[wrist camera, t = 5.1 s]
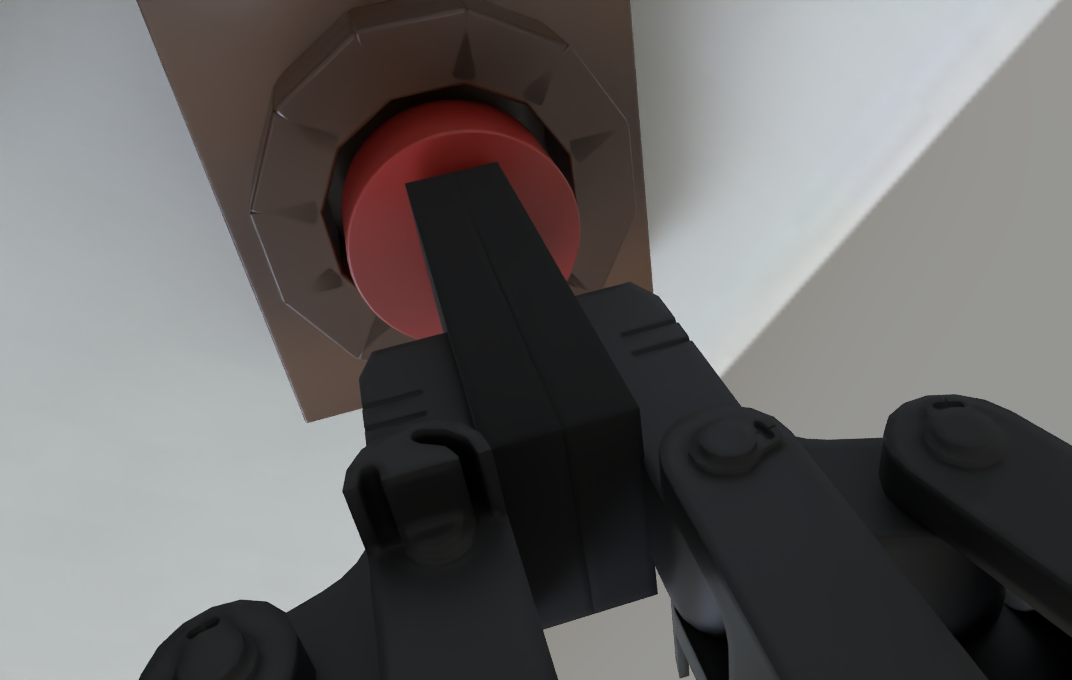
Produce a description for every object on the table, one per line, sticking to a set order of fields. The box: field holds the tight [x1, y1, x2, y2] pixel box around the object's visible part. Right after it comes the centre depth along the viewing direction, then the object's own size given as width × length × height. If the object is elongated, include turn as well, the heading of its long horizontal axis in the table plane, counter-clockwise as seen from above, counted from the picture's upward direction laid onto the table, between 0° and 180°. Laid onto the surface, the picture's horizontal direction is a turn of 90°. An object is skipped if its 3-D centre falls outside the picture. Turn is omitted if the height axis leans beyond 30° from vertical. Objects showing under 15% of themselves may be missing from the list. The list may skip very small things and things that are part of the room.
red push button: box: [342, 99, 580, 340], centre depth 15 cm, size 4×4×2 cm
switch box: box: [136, 0, 653, 423], centre depth 17 cm, size 10×8×4 cm
